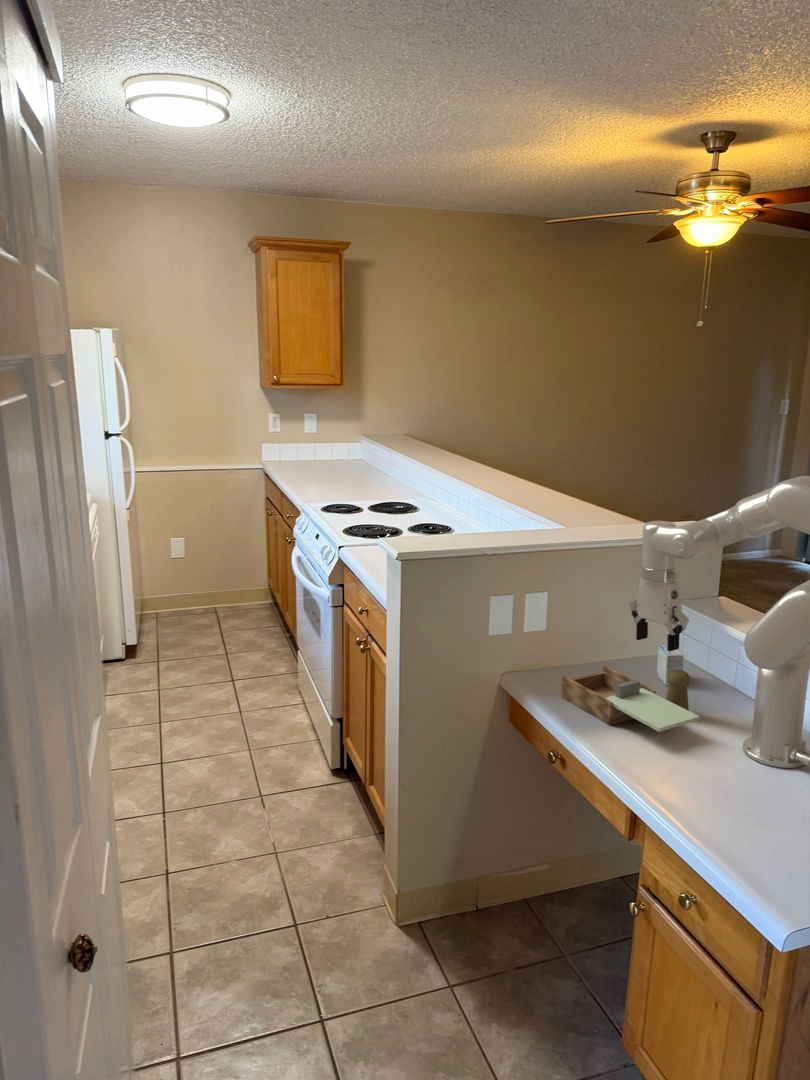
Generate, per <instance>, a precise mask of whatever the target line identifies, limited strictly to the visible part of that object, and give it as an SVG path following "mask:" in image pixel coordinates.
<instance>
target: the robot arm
mask: <svg viewBox="0 0 810 1080" xmlns="http://www.w3.org/2000/svg"><path fill="white" fill-rule="evenodd" d="M786 527H789V528H791V529H793V530H796V531H799V532H801V533H805V534H807V535H810V475H801V476H796V477H792V478H790V479H785V480H783V481H780V482H779V483H777V484H775V485H774V486H772V487H770V488H767V489H764V490H763V491H759V492H758V493H755V494H753V495H750V496H747V497H743V498H742V499H740V500H739V501H737V502H736V504H735V505H734V506H732V507H730V508H728V509H726V510H723V511H721V512H718V513H716V514H714V515H711V516H708V517H706V518H704V519H700V520H697V521H694V522H690V523H688V524H684V525H683V524H682V525H679V526H677V525H676V524H675V523H674V522H672V521H667V520H652V521H651V520H650V521H647V522H646V523H644V525H643V527H642V544H641V549H642V555H641V557H642V559H641V564H642V565H641V577H640V579H639V585H638V589H637V598H636V600H634V601H631V602H629V608H630V611H631V616H632V617H633V619H634V623H635V624H636V625H635V627H636V628H635V629H636V632H635V633H636V634H635V636H636V637H635V640H637V641H641V640H645V639H647V638H648V635H649V634H648V633H649V622H648V621H650V622H653V623H656V624H660V625H663V626H665V627H666V629H667V630H668V632H669V634H667V637H666V638H667V643H666V645H667V650H668V651H673V650H677V649H678V650H679V649H680V634H682V633H683V631H685V629H686V627H687V625H688V624H689V622H690V619H689V617H688V616H687V615H685V614H684V613H683V612H682V610H683V609H682V594H681V588H680V582H679V581H677V579H678V578H679V574H678V573H677V559H678V560H679V559H680V560H685V561H686V560H692V559H694V558H695V559H696V558H697V557H701V556H703V555H706V554H708V553H712V552H713V551H716V550H719V549H721V548H724V547H727V546H730V545H732V544H735V543H737V542H740V541H743V540H747V539H756V538H759V537H762V536H765V535H767V534H770V533H772V532H775V531H779V530H781V529H784V528H786ZM672 625H673V626H672ZM743 641H744V642H743V648H744V651H745V652H744V653H745V656H746V657H747V658H748V660H749V661H750V662H751V663H752V664H753V665H754V666H756V667H757V668H758V669H757V675H756V676H757V678H756V685H755V695H754V705H753V706H754V707H753V715H752V717H753V719H752V726H751V736H750V737H747V738H746V739H744V740H743V742H742V750H743V752H744V753H745V755H747V756H748V757H749V758H750V759H753V760H754V761H756V762H758V763H760V764H763V765H766V766H770V767H775V768H783V769H792V768H793V769H795V768H798V767H801V766H804V765H806V766H808V767H810V750H808V749H807V746H806V745H807V741H806V740H804V739H802V735H803V728H804V727H803V726H804V718H805V710H806V709H805V708H806V701H807V700H806V698H807V691H808V686H809V685H808V683H809V676H810V675H809V674H810V579H809V580H807V581H804V582H803V583H800V584H799V585H797V586H796V587H794V588H792V589H790V590H789V591H788V592H786V593H785V594H783V596H782V597H781V598H780V599H778V601H776V603H775V604H773V606H772V607H771V608H769V610H768V611H766V612H765V614H763V615H762V617H760V619H758V621H756V622H755V624H753V625H752V626H751V627H750V629H749V630H748V631H747V633H746V635H745V638H744V640H743Z"/></svg>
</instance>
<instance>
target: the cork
mask: <svg viewBox="0 0 810 1080" xmlns="http://www.w3.org/2000/svg"><path fill="white" fill-rule="evenodd" d="M690 681H691V677H690V674H689V672H687V671H685V670H683V671H682V670H672V671H670V672H669V673H668V675H667V682H668V683H669V686H668V688H667V691H666V696H665V699H666V700H668V701H670V702H672V703H674V704H676V705H678V706H680V707H682V708H684V709H686V710H688V711H690V710H689V709H690V708H689V697H688V696H689V695H688V686H689V685H690Z"/></svg>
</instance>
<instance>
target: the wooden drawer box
mask: <svg viewBox="0 0 810 1080" xmlns="http://www.w3.org/2000/svg"><path fill="white" fill-rule="evenodd" d="M632 680H634V679H633V678H630V677H628V676H627V675H625V674H622V673H621V672H618V671H617V670H614V669H613V668H610V667H609V666H606V665H602V671H598V672H593V673H589V674H585V675H581V676H577V677H573V678H569V677H568V676H566V675H564V674H563V675H561V685H560V686H561V688H560V689H561V693H560V697H561V698H562V699H564V700H566V701H567V702H569V703H570V704H572V705H573V706H575V707H577V708H579V709H581V710H582V711H584V712H585V713H587V714H589V715H590V716H592V717H594V718H595V719H597V720H599V721H601V722H603V723H604V724H606V725H608V726H613V725H616V724H620V723H623V722H627V721H631V720H634V719H635V718H633V717H631V716H629V715H628V714H626V713H624V712H622V711H620V710H619V709H617V708H615V707H613V706H612V702H611V701H610V700H608V699H606V697H610V696H614V695H616V684H620V683H624V682H628V681H632ZM641 688H644V689H646V690H648V691H650V692H652V693H654V694H656V690H655V689H653V688H651V687H650V686H647V685H645V684H643V683H641V682H640V689H641ZM635 720H636V719H635Z"/></svg>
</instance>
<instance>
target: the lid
mask: <svg viewBox="0 0 810 1080" xmlns="http://www.w3.org/2000/svg"><path fill="white" fill-rule="evenodd" d="M640 683H641V681H638V680H637V679H633V680H632V681H628V682H624V683H620V684H616V695H614V696H610V697H606V699H608V700H610V701H611V702H612V706H613V707H615V708H617V709H619V710H620V711H622V712H624V713H626V714H628V715H629V716H631V717H633V718H635V720H637V721H638V722H640V723H642V724H644V725H646V726H648V727H650V728H651V729H653V730H654V731H657V732H659V733H661V732H662V731H666V730H670V729H673V728H677V727H679V726H680V727H681V726H684V725H686V724H689V723H693V722H697V721H700V718H701V716H699V715H698V714H695V713H694V712H692V711H690V710H689V711H688V710H686V709H684V708H682V707H680V706H678V705H676V704H674V703H672V702H670V701H668V700H666V698H664V697H663V696H662V697H661V696H659V695H658V694H656V693H655V694H654V693H652V692H650V691H648V690H646V689H644V688H641V689H640Z"/></svg>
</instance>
